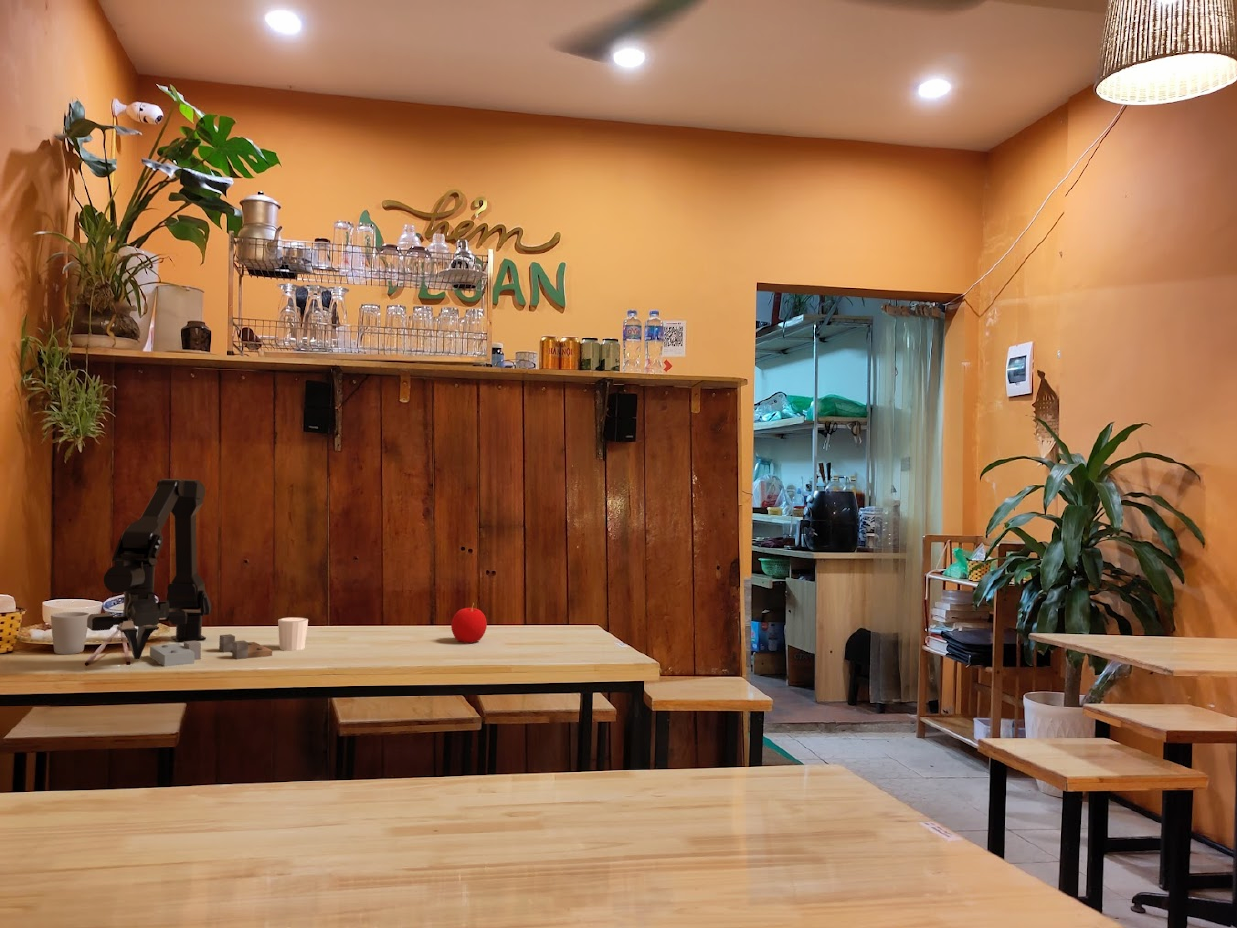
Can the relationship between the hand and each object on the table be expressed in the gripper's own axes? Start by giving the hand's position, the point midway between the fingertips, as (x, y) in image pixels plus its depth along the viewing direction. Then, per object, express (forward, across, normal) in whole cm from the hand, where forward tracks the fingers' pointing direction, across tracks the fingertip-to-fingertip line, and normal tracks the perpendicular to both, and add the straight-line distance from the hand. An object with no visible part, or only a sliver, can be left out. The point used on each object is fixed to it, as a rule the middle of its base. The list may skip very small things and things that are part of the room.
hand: (136, 659), depth 204 cm
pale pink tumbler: (+1, +34, 0) cm, 34 cm away
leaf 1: (+1, +8, 0) cm, 8 cm away
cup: (+1, -9, +21) cm, 23 cm away
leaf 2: (+1, +23, 0) cm, 23 cm away
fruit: (+1, +75, -13) cm, 76 cm away
